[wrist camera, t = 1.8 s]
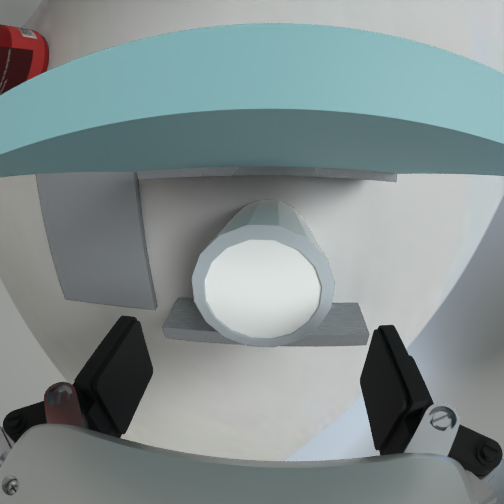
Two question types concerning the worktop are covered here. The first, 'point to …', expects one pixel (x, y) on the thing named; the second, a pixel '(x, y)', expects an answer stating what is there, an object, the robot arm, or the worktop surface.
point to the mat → (97, 237)
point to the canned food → (21, 56)
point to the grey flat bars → (341, 314)
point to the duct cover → (258, 105)
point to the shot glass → (264, 277)
